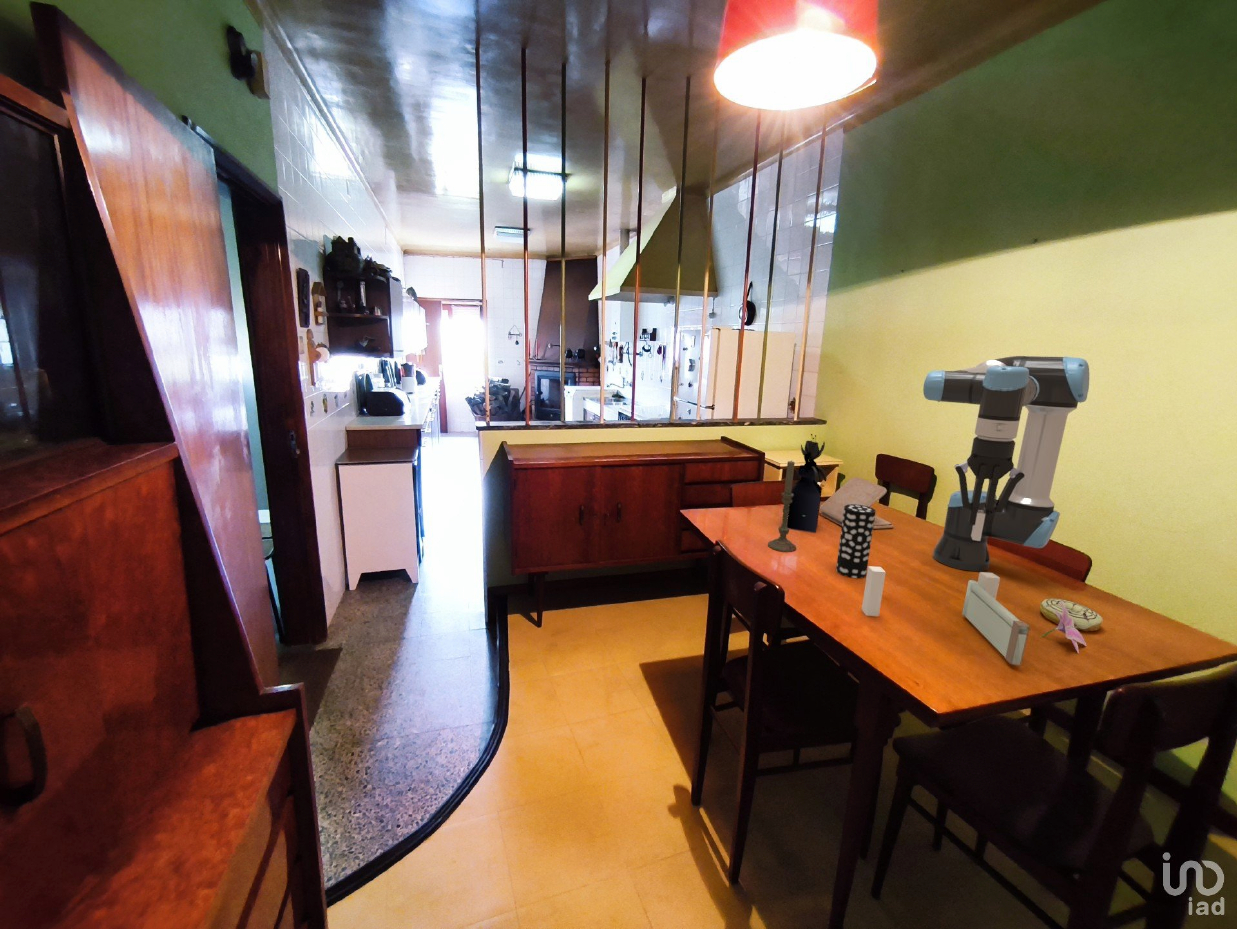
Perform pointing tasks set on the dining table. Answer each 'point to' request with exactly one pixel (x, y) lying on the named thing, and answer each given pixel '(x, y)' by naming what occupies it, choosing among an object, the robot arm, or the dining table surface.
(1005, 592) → the dining table surface
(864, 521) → the spotted tube
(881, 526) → the case
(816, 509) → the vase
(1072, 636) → the lily
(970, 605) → the gate
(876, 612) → the gate posts
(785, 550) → the candlestick holder
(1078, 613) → the decorated donut
